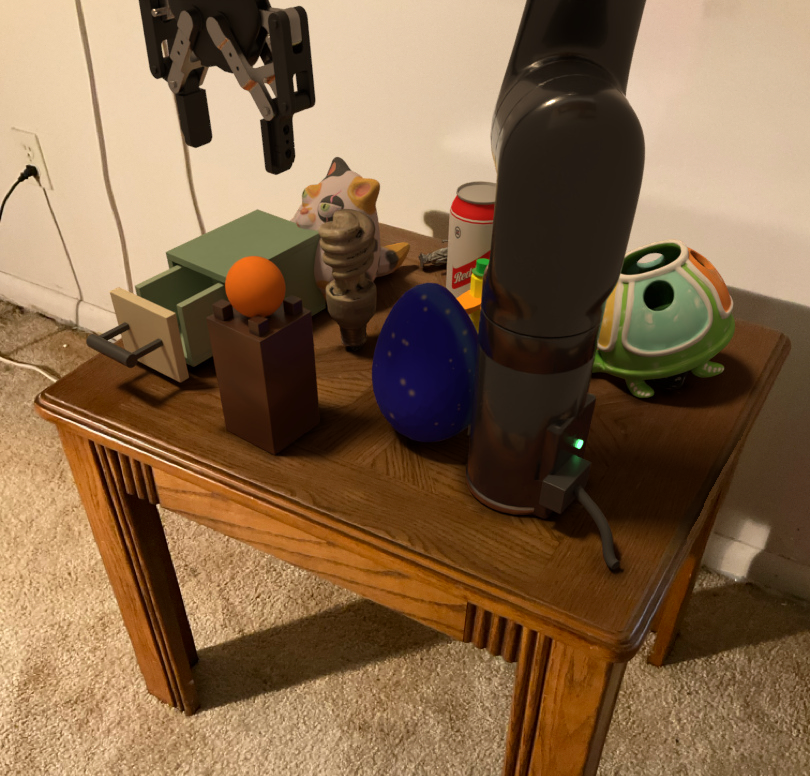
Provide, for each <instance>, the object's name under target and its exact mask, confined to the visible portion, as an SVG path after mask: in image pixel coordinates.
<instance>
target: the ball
mask: <svg viewBox="0 0 810 776" xmlns="http://www.w3.org/2000/svg"><path fill="white" fill-rule="evenodd" d="M225 289H226V295H227V297H228V300H229V302H230V303H231V305H232V306H233V307H234V308H235V309H236V310H237V311H238V312H239V313H241V314H243V315H245V316H247V317H251V318H252V317H254V316H256V315H260V316H262V317H267V316H269V315H271V314H273V313H274V312H275V311H276V310H277V309H278V308H279V307H280V306H281V304H282V302H283V300H284V296H285V281H284V278H283V275H282V273H281V271H280V270H279V269H278V267H277V266H276V265H275V264H274V263H272V262H271V261H269V260H268V259H266V258H263V257H259V256H249V257H245V258H242V259H240V260H238V261H237V262H236V263H235V264H234V265H233V266H232V267H231V268H230V270H229V272H228V274H227V276H226V281H225Z"/></svg>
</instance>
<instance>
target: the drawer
mask: <svg viewBox="0 0 810 776" xmlns="http://www.w3.org/2000/svg"><path fill="white" fill-rule="evenodd" d="M134 289H135V293H136V294H135V293H133V292H131V291H128V290H127V289H124V288H122V287H120V286H117V287H116V288H114V289H111V290H110V291H109V295H110V299H111V302H112V306H113V310H114V314H115V318H116V322H117V325H116V326H114V327H113V328H111V329H109V330H107V331H105V332H103V333H101V334H99V335H98V334H95V333H90V334H89V335H87V337H86V339H85V344H86V346H87V347H88V348H90V349H92V350H94V351H96V352H98V353H99V354H101V355H104V356H105V357H107V358H109V359H111V360H113V361H115V362H117V363H118V364H120V365H122V366H124V367H126V368H129V369H132V368H133V369H134V368H135V367H136V366H137V364H138V362H139V363H141V364H143V365H145V366H146V367H149V368H150V369H153V370H155V371H157V372H158V373H160V374H163V375H164V376H167V377H169V378H170V379H172V380H174V381H176V382H178V383H183V382H184V381H186V380H188V379H189V378H190V376H189V371H188V366H187V365H189V366H191V367H193V368H194V367H196V366H198V365H200V364H201V363H203V362H205V361H207V360H208V359H210V358H211V357H212V358H213V353H212V347H211V342H210V336H209V331H208V325H207V320H206V318H207V317H208V316H210V315H212V314H214V311H213V306H212V304H214V303H216V302H218V301H220V300H222V299H223V300H226V301H228V302H229V300H228V297H227V295H226V289H225V283H223V282H220V281H218V280H215V279H213V278H211V277H208V276H206V275H204V274H201V273H199V272H197V271H194V270H192V269H189V268H187V267H185V266H182V265H180V264H179V265H177V266H175V267H172V268H170V269H169V268H168V269H166V270H165V271H162V272H159V273H158V274H156V275H154V276H152V277H150V278H148V279H146V280H143V281H142V282H139V283H137V284H135V285H134ZM117 336H121V340H122V344H123V347H122V346H119V345H117V344H115V343H113V342H112V341H110V340H112V339H113V338H115V337H117Z"/></svg>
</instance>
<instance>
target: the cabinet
mask: <svg viewBox="0 0 810 776" xmlns="http://www.w3.org/2000/svg"><path fill="white" fill-rule="evenodd" d="M319 239H320V235H319V233H318V231H316V230H306V229H302V228H299V227H298V226H297V225H296V223H294V222H291V221H290V220H288V219H286V218H284V217H280V216H277V215H274V214H272V213H269V212H266V211H264V210H261V209H258V208H257V209H255V210H252V211H251V212H249V213H246V214H244V215H242V216H240V217H238V218H235V219H233V220H231V221H229V222H227V223H225V224H223V225H221V226H218V227H216V228H214V229H212V230H210V231H207V232H206V233H203V234H201V235H199V236H196V237H195V238H193V239H191V240H188V241H186V242H183V243H182V244H180V245H177V246H176V247H173V248H171V249H169V250H167V251H165V257H166V259H167V265H168V269H170V268H172V267H175V266H177V265H179V264H180V265H182V266H185V267H187V268H189V269H192V270H194V271H197V272H199V273H201V274H204V275H206V276H208V277H211V278H213V279H215V280H218V281H220V282H223V283H225V281H226V276H227V274H228V272H229V270H230V268H231V267H232V266H233V265H234V264H235V263H236V262H237V261H238V260H240V259H242V258H245V257H249V256H259V257H263V258H266V259H268V260H269V261H271V262H272V263H274V264H275V265H276V266H277V267H278V269H279V270H280V271H281V273H282V275H283V278H284V281H285V296H284V299H286V298H288V297H290V296H291V295H293V296H295V297H298V298H300V299H302V306H303V308H305V309H307V310H309V311H311V315H312V317H314V316H315V315H317V314H318V313H320V312H322V311H323V310H325V309H326V308H327V306H326V305H327V303H326V301H325V298H324V296H323V294H322V292H321V290H320V289H319V288H318V286H317V284H316V280H315V275H314V263H315V256H316V250H317V246H318V242H319V241H318V240H319Z"/></svg>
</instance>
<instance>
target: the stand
mask: <svg viewBox="0 0 810 776" xmlns="http://www.w3.org/2000/svg"><path fill="white" fill-rule="evenodd" d="M212 306H213V311H214V314H212V315H210V316H208V317H207V318H206V320H207V325H208V331H209V336H210V342H211V347H212V353H213V356H212V358H213V364H214V369H215V375H216V381H217V385H218V391H219V397H220V402H221V407H222V414H223V419H224V424H225V430H226V431H228V432H230V433H231V434H233V435H235V436H237V437H239V438H240V439H243V440H244V441H246V442H249V443H250V444H253V445H254V446H256V447H258V448H260V449H262V450H264V451H266V452H268V453H269V454H271V455H273V456H276V455H278V454H279V453H280V452H282V451H283V450H285V449H286V448H287V447H289V446H290V445H292V444H293V443H294V442H295V441H297V440H298V439H299V438H302V436H304V435H305V434H307V433H308V432H309V431H311V430H313V429H314V428H315V427H316V426H318V425H319V424H320V423H321V417H320V405H319V393H318V392H319V391H318V380H317V366H316V356H315V355H316V354H315V342H314V341H315V340H314V329H313V316H312V315H311V311H309V310H307V309H305V308H303V306H302V299H300V298H298V297H295V296H293V295H291V296H290V297H288V298H286V299H284V300H283V302H282V304H281V306H280V307H279V308H278V309H277V310H276V311H275V312H274V313H273V314H271V315H269V316H267V317H262V316H260V315H256V316H254V317H252V318H251V317H247V316H245V315H243V314H241V313H239V312H238V311H237V310H236V309H235V308H234V307H233V306H232V305H231V303H230V302H228V301H226V300H223V299H222V300H220V301H218V302H216V303H214V304H212Z"/></svg>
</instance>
